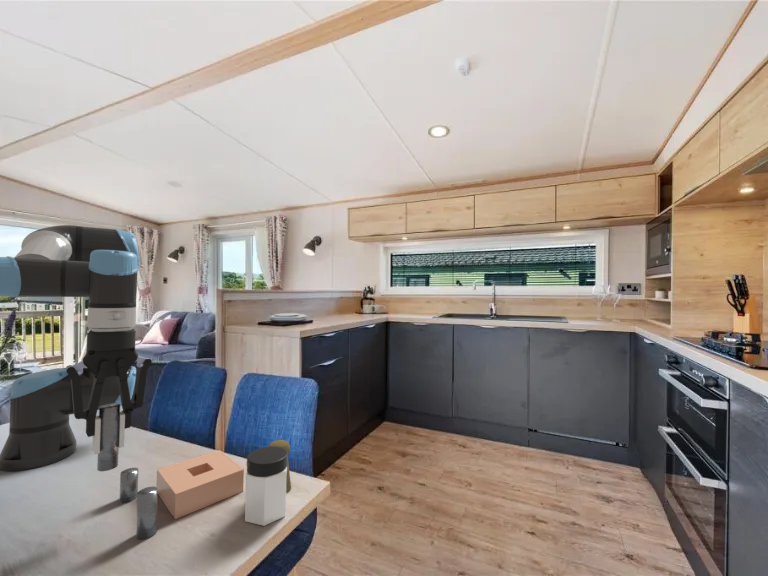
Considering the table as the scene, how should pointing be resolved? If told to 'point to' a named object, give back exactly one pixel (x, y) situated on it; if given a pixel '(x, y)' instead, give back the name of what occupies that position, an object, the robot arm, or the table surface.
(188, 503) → the socket block
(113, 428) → the long pin
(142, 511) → the medium pin
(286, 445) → the olive pawn
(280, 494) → the jar
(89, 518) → the table surface
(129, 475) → the short pin
